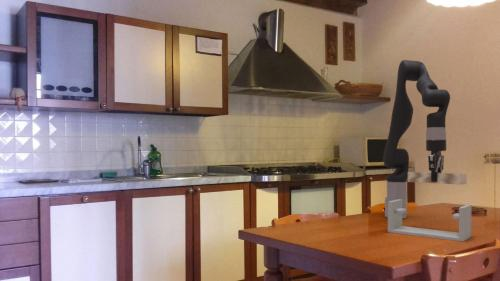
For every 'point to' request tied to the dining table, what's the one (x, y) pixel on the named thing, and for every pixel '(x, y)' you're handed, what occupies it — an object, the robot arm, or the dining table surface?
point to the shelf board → (441, 178)
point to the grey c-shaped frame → (396, 227)
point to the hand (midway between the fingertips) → (436, 181)
